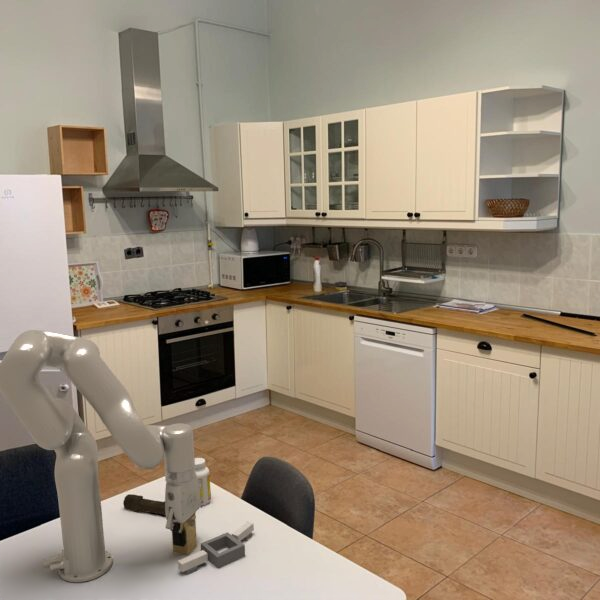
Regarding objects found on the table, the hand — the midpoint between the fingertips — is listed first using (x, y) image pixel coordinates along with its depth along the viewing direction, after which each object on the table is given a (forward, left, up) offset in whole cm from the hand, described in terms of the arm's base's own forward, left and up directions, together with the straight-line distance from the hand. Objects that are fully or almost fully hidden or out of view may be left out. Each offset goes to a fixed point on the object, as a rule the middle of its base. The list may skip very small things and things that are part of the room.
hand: (184, 539), depth 162 cm
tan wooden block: (0, 0, -3) cm, 3 cm away
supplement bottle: (+10, +23, -3) cm, 25 cm away
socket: (+8, -7, -3) cm, 11 cm away
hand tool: (-4, +23, -3) cm, 23 cm away
